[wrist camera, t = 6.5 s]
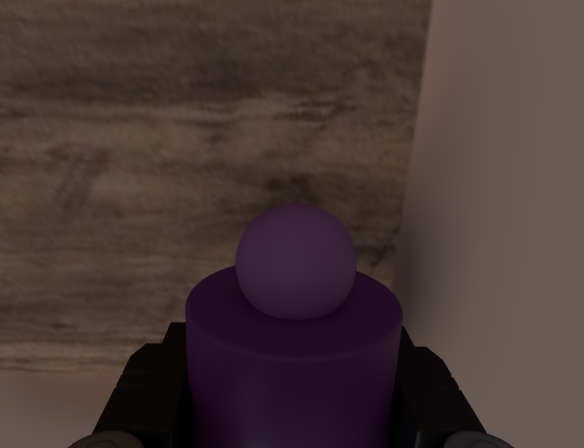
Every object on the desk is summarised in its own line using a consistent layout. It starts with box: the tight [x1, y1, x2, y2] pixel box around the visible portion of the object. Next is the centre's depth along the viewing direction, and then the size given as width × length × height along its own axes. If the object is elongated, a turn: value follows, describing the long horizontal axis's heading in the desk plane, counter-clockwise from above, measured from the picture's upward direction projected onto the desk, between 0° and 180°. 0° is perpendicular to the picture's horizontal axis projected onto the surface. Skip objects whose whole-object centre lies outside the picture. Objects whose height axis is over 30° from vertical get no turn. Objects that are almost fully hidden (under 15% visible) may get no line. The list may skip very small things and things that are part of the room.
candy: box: [185, 203, 403, 448], centre depth 9 cm, size 9×4×4 cm, turn 178°
